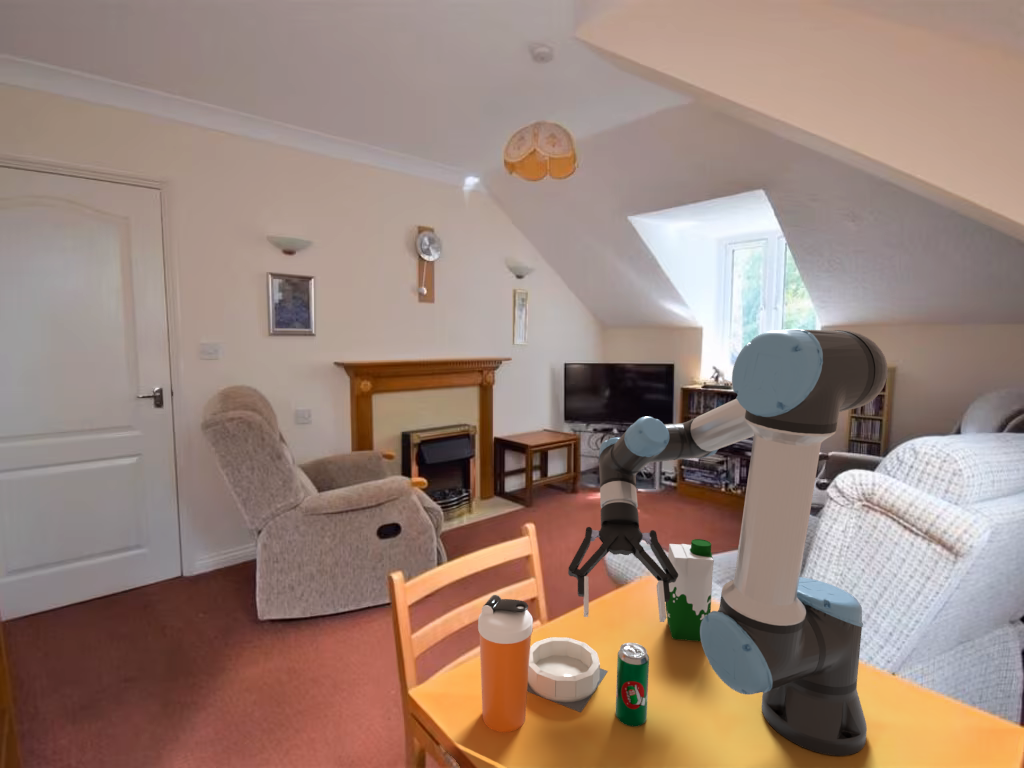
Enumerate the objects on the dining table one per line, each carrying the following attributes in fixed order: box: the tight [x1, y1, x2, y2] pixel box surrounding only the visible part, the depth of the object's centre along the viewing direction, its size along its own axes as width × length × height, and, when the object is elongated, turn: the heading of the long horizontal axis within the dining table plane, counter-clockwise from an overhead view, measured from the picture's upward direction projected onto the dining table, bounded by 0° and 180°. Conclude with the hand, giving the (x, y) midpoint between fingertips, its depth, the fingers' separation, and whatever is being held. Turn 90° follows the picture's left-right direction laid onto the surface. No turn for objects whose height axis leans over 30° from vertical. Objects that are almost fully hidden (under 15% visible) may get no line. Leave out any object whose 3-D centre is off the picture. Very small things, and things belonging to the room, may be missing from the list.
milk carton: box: [665, 538, 715, 642], centre depth 115 cm, size 9×9×20 cm
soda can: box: [615, 642, 650, 727], centre depth 89 cm, size 5×5×12 cm
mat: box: [527, 667, 609, 713], centre depth 99 cm, size 13×13×1 cm
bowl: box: [528, 636, 601, 702], centre depth 99 cm, size 13×13×4 cm
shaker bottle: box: [477, 594, 534, 733], centre depth 88 cm, size 9×9×20 cm
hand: (624, 617), depth 97 cm, fingers open, 13 cm apart
